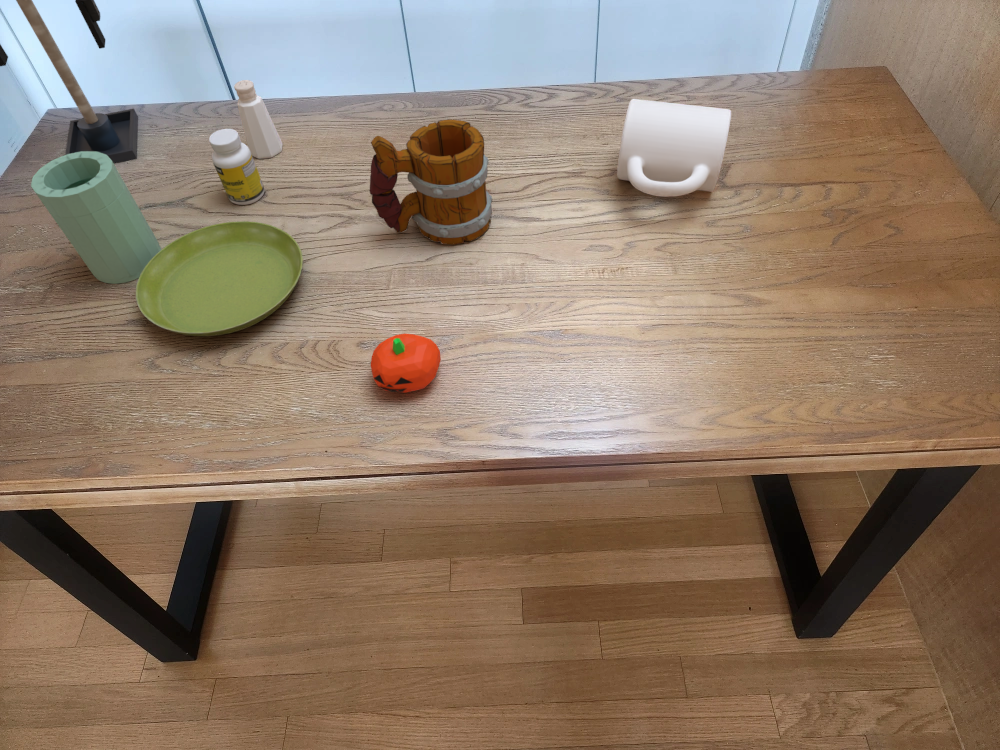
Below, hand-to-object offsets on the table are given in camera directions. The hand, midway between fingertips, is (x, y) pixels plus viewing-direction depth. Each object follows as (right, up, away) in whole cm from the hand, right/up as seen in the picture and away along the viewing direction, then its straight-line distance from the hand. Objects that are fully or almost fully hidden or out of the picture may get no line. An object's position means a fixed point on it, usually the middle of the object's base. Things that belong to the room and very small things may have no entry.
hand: (54, 53), depth 97 cm
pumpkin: (+55, -47, -20) cm, 75 cm away
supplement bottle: (+27, -20, +2) cm, 34 cm away
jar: (+14, -31, -6) cm, 35 cm away
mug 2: (+89, -20, -1) cm, 91 cm away
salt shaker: (+28, -11, +10) cm, 31 cm away
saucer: (+30, -36, -10) cm, 48 cm away
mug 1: (+56, -26, -4) cm, 62 cm away
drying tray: (+1, -9, +12) cm, 15 cm away
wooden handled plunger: (+1, -9, +12) cm, 15 cm away
